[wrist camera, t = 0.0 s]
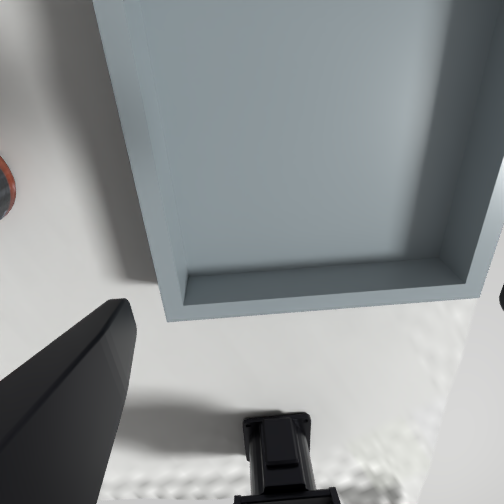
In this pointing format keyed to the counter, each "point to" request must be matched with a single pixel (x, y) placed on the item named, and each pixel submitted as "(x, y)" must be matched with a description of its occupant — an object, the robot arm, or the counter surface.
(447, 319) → the counter surface
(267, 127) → the gray square tray
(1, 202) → the supplement bottle
